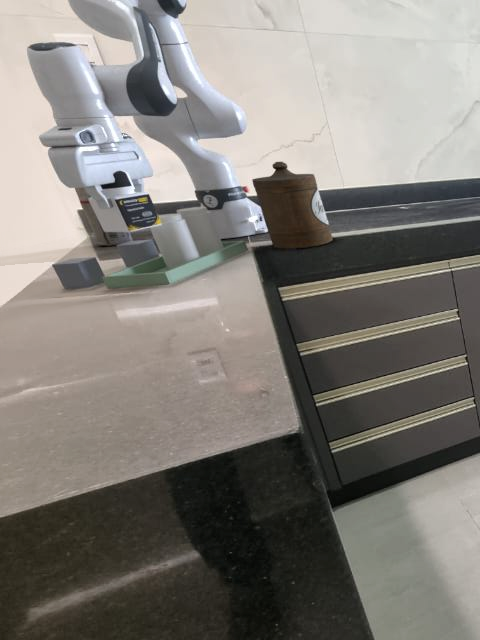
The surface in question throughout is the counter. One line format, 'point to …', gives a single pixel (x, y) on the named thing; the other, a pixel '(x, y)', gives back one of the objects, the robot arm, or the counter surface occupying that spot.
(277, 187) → the wooden container
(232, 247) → the tray
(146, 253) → the grey box
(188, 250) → the white bottle
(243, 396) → the counter surface
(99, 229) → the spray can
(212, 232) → the white bottle
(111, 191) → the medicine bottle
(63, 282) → the grey box
